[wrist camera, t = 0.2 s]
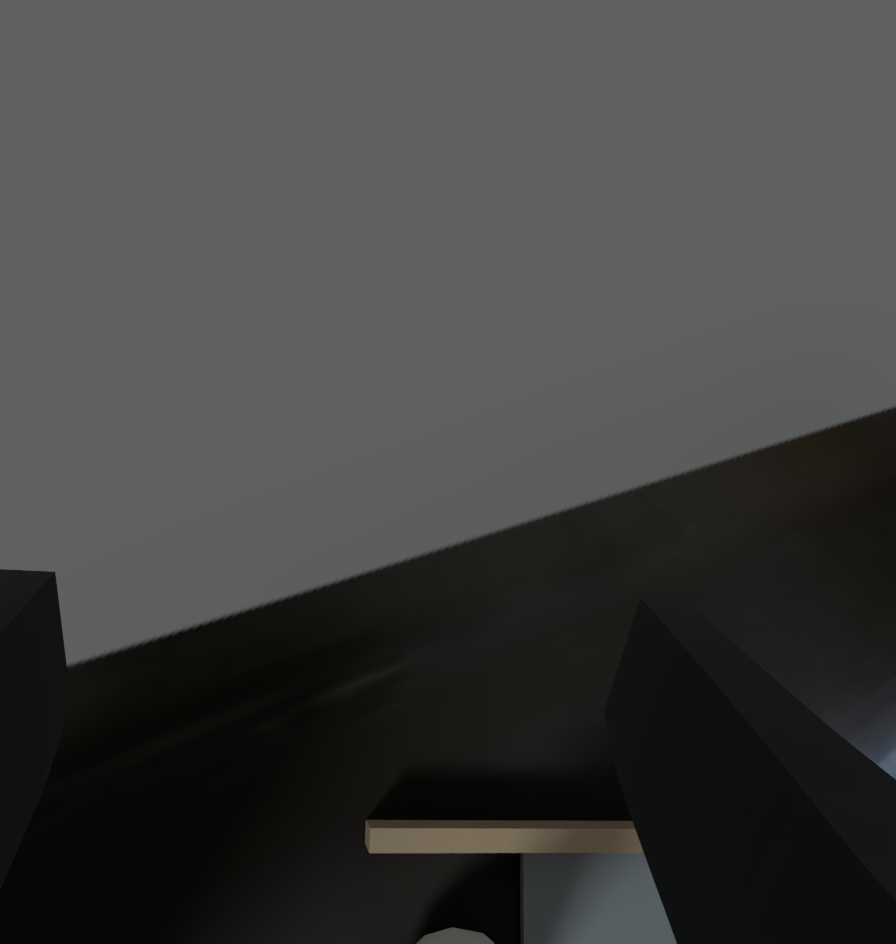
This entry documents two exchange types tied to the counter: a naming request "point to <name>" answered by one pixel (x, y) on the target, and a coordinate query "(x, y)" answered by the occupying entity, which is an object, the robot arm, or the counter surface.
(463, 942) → the salt shaker
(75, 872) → the counter surface
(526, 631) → the counter surface
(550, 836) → the tan u-shaped piece
